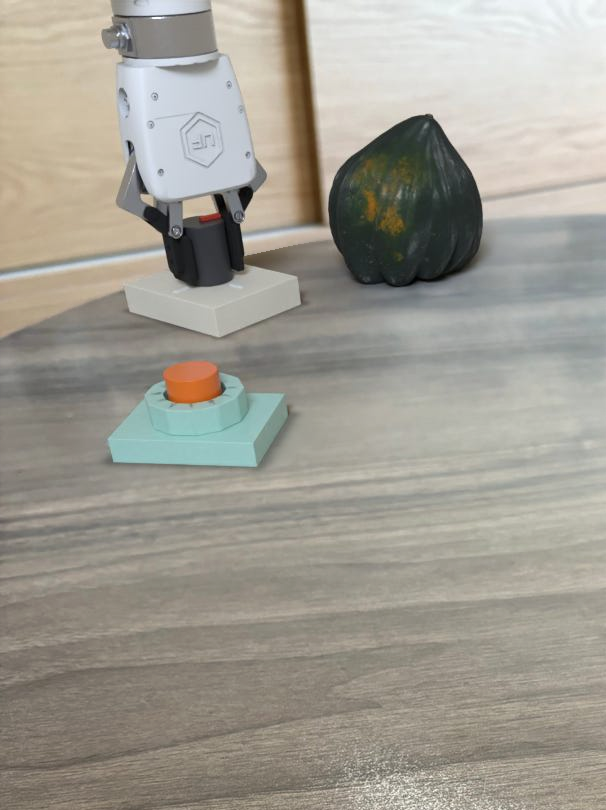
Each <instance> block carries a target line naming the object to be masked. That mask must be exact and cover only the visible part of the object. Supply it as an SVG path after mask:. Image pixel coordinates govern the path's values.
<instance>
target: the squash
mask: <svg viewBox="0 0 606 810" xmlns="http://www.w3.org/2000/svg"><path fill="white" fill-rule="evenodd" d="M327 200H328V201H327V212H328V213H327V214H328V225H329V229H330V233H331V237H332V240H333V242H334V245H335V247H336V248H337V250H338V252H339V253H340V254H341V255H342V257H343V260H344V262H345V266H346V267H347V269H348V270H349V272H350V273H351V275H353V277H355V278H356V279H357V280H358V281H359V282H361V283H363V284H365V285H379V284H385V283H388V284H390V285H392V286H394V287H402V286H405V285H408V284H409V283H412V281H413V280H414V279H415V278H416V277H417V278H419V279H421V280H430V279H435V278H437V277H439V276H440V275H445V274H449V273H455V272H458V271H460V270H462V269H464V268H465V267H466V266H468V265H469V264H470V263H471V261H472V260H474V258H475V256H476V255H477V253H478V251H479V249H480V245H481V241H482V235H483V230H484V229H483V228H484V211H483V202H482V198H481V194H480V191H479V187H478V183H477V180H476V178H475V177H474V174H473V172H472V171H471V168H469V166H468V164H467V163H466V161H465V160H464V159H463V157H462V156H461V154H460V153H459V152H458V150H457V149H456V147H455V146H454V145H453V144H452V142H451V140H450V139H449V137H448V136H447V134H446V132H445V131H444V129H443V127H442V125H441V124H440V123H439V122H438V121H437V120H436V118H434V115H433V114H431V113H425V114H417V115H414V116H413V115H412V116H410V117H408V118H406V119H404V120H402V121H400V122H398V123H396V124H394V125H393V126H391V127H390V128H389V129H387V130H386V131H384V132H382V133H381V134H378V136H376V137H375V138H374V139H373V140H371V141H370V142H369V143H367V144H366V145H365V146H364V147H363V148H361V149H359V150H358V151H356V152H355V153H354V154H352V155H350V157H348V158H347V159H346V160H345V161H344V163H343V164H342V165H341V166H339V168H338V170H337V171H336V173H335V175H334V177H333V180H332V184H331V186H330V190H329V194H328V199H327Z"/></svg>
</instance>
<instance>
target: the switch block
mask: <svg viewBox="0 0 606 810" xmlns="http://www.w3.org/2000/svg"><path fill="white" fill-rule="evenodd" d="M219 377H220V382H221V388H222V394H221V396H218V397H216V398H214V399H212V400H209V401H204V402H199V403H193V404H182V403H174V402H171V401H170V400H169V399H168V394H167V390H166V385H165V381H164V380H162V381H160V382H157V383H154V384H153V385H152V386H150V388H149V389H148V390H147V391H146V392H145V393H144V396H143V397H144V398H143V399H142V400H141V401H140V402H139V403H138V404H137V406H136V407H135V408H134V409H133V410H132V411H131V412H130V413H129V414H128V415H127V417H125V419H124V420H123V421H122V422H121V423H120V424H119V425H118V427H117V428H116V429H115V430H114V431H113V432H112V433H111V434H110V435H109V436H108V438H107V442H108V446H109V450H110V454H111V457H112V461H113V463H128V464H129V463H131V464H157V465H159V464H161V465H189V466H190V465H191V466H192V465H193V466H224V467H253V468H254V467H255V468H256V467H258V466H259V464H260V463H261V462H262V459H263V458H264V456H266V455H265V454H266V453H267V452H268V450H269V449H270V447H271V445H272V444H273V442H274V440H275V438H276V436H277V435H278V434H279V432H280V430H281V429H282V427H283V425H284V424H285V422H286V420H287V419H288V417H289V412H288V406H287V405H288V404H287V399H286V393H272V392H271V393H270V392H246V389H245V386H244V384H243V382H242V381H241V379H240V378H239V377H238V376H237V377H236V376H234V375H231V374H227V373H224V372H219Z"/></svg>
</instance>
